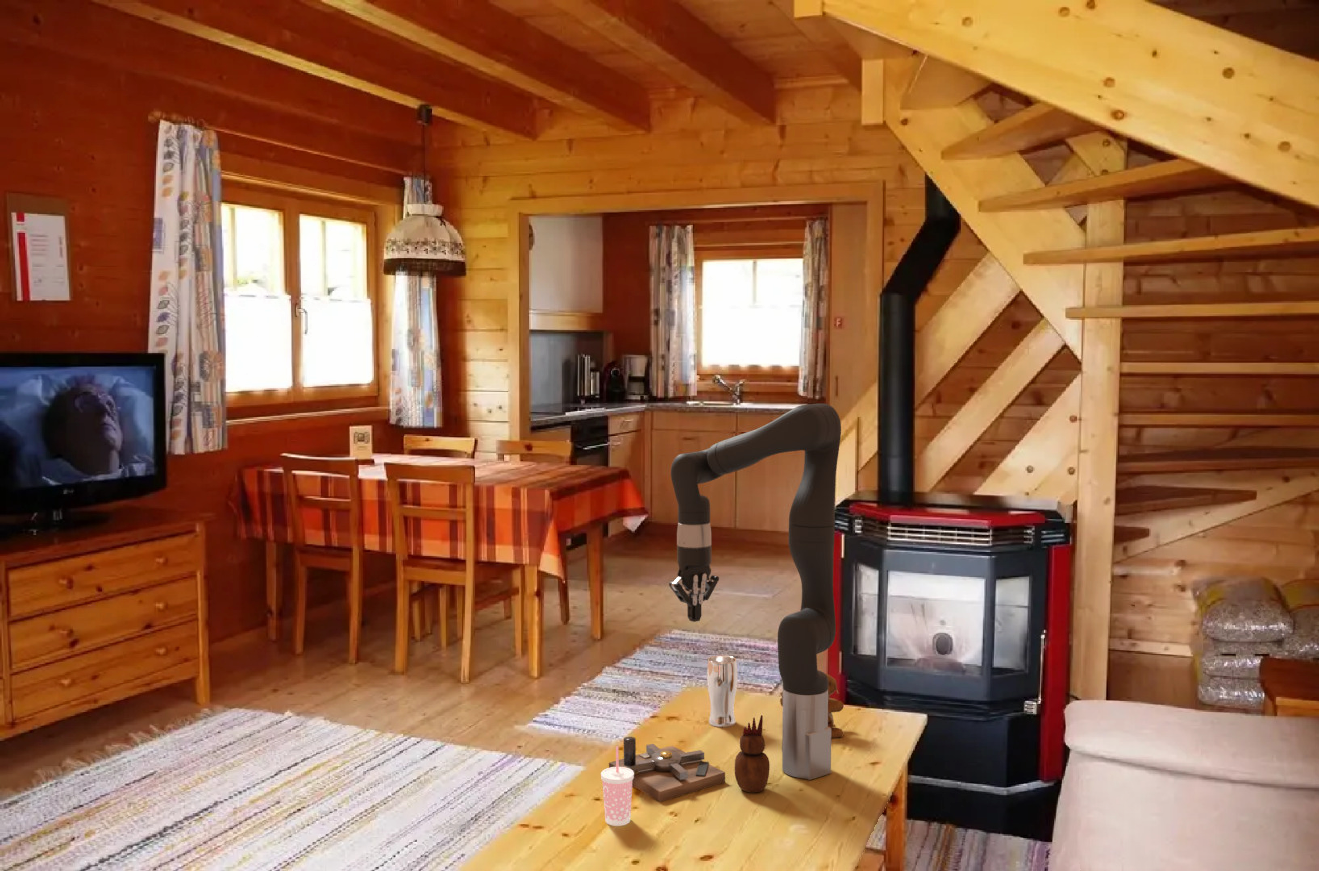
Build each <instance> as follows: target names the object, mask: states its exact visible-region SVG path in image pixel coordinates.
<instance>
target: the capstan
mask: <svg viewBox="0 0 1319 871" xmlns="http://www.w3.org/2000/svg"><path fill="white" fill-rule="evenodd" d="M636 740H637V739H636V737H634V736H626V737H624V738H623V759H624V765H625V766H627V768H629V769H631V770H633V772H637V771H642V770H648V769H655V770H658V771H665V772H667V771H670V772H671V773H673V774H674V775H675V776H676V777H677V778H679V779H680V780H682V779H687V771H686V770H685V769H684V768H683V767H681V763H687V762H692V761H698V760H702V761H703V760H705V752H704V751H703V750H701V749H700V750H694V751H688V752H686V753H681V754H678V753H676V752H672V751H662V750H660V749H661V748H659V747H658V746H657V745H656V744H654V743H650V744H649V743H648V744H646V745H645V749H646V752H648V753H649V754H650V755H651V759H647V760H642V761H636V755H637V754H636V752H637V746H636V743H637V741H636ZM646 752H645V753H646Z"/></svg>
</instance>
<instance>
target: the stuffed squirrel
mask: <svg viewBox="0 0 1319 871" xmlns="http://www.w3.org/2000/svg"><path fill="white" fill-rule="evenodd" d="M825 674H826V675H827V677H828V727H829V728H831V739H837V738H838V739H840V738H839V737H841V738H843V736H844V731H843V729H841V728H838V727H834V725H835V724H834V723H835V722H834V716H833V713H839V712H842V710H843V709H844V706H845V704H844V703H843V702H842V701H841V700H837V699H836V698H831V697H830V696H831V695H833V694H834V693H835V692H836V693H837V695H838V694H840V693H839V691H838V686H837V680H836V678H834V677H833V676H831V674H828V673H825ZM779 694H780V696H781V698H780V699H779V702H780V706H781V707H782V708H783V691H782V692H779Z"/></svg>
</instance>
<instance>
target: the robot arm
mask: <svg viewBox="0 0 1319 871" xmlns="http://www.w3.org/2000/svg"><path fill="white" fill-rule="evenodd" d="M841 436H842V423H841V418H840V416H839V413H838V412H837V410H836V409H835V408H834V407H833V406H831V404H827V403H812V404H811V403H810V404H801V405H798V406H796V407H794V408H791V410H789V411H787V412H785V413H784V414H782V415H781V416H779V417H777V418H776V419H774V420H772V421H770V422H768V423H767V424H765V425H763V426H761V427H758V428H756V429H754V430H750V431H747V432H744V433H741V434H738V435H735V436H732V437H729V438H727V439H724V440H720V441H719V442H716V443H714V444H712V445H711V446H710V447H709V448H706V449H704V450H699V451H693V452H685V453H680V454H678V455H676V457H675V458H673V461H672V463H671V466H670V477H671V483H672V487H673V490H674V494H675V499H676V501H677V502H676V503H677V530H676V561H677V565H678V571H677V573H676V574H677V577H676V579H674V581H670V582H668V586H669V587H670V589H671V590H672V591H673V593H674V595H675V596H676V597H677V599H678V600H679V602H681V603H685V604H686V605H687V619H688V620H689V621H690V622H693V623H695V622H700V621H701V618H702V604H703V603H704V602H705V601H709V599H710V597H711V596H712V593H713V592H714V590H715V588H716V586H717V584H718V583H719V580H720V577H719V576H718V575H715V574H714V573H712V569H711V566H710V565H711V564H712V527H711V504H710V499H709V498H708V497H707V496H705V495H703V494H700V488H699V484H705V483H708V482H709V483H710V482H711V481H715V480H717V479H718V478H721V477H723V476H724V475H728V474H731V473H735V472H737V471H741V470H744V469H746V468H749V467H751V466H753V465H755V464H757V463H759V462H760V461H762V460H764V459H766V458H769V457H771V456H775V455H777V454H783V453H789V452H798V451H804V464H803V472H802V477H801V480H800V482H799V486H798V488H797V490H796V493H795V495H794V498H793V499H792V500H793V501H792V503H791V506H790V510H789V516H788V538H787V539H788V540H787V541H788V549H789V552H790V556H791V558H792V561H793V562H794V565H795V568H796V570H797V572H798V574H799V575H798V576H799V577H800V582H801V603H800V610H799V611H796V612H792V613H790V614H788V615H786V616H785V617H783V619H781V621H780V624H778V629H777V658H778V659H777V662H778V671H779V676H780V678H781V680H782V692H783V707H782V721H781V722H782V725H781V726H782V730H781V731H782V733H781V734H782V736H781V737H782V743H781V744H782V746H781V749H782V750H781V751H782V753H781V754H782V755H781V756H782V759H781V760H782V762H781V763H782V765H781V766H782V767H781V769H782V771H783V772H784V773H785V774H786V775H788V776H791V777H794V778H799V779H805V780H808V781H811V780H814V779H817V778H820V777H823V776H826V775H829V774H832V738H831V728H829V727H828V677H827V675H826V674H827V673H825V672H823V671H822V670H818V659H817V657H818V656H817V655H818V654H820V653H822V652H825V651H827V650H828V649H830V647H831V646H833V644H834V642H835V639H836V638H835V637H836V632H837V627H836V625H837V623H836V622H837V621H836V620H837V619H836V610H835V598H834V550H835V528H836V527H835V526H836V525H835V524H836V523H835V522H836V519H835V515H836V514H835V507H836V506H835V505H836V490H837V489H836V485H837V484H836V482H837V481H836V480H837V478H836V477H837V467H838V460H839V451H840V445H841V438H842V437H841Z"/></svg>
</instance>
